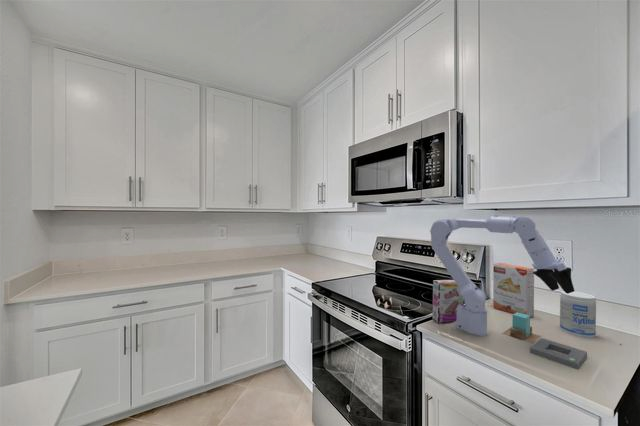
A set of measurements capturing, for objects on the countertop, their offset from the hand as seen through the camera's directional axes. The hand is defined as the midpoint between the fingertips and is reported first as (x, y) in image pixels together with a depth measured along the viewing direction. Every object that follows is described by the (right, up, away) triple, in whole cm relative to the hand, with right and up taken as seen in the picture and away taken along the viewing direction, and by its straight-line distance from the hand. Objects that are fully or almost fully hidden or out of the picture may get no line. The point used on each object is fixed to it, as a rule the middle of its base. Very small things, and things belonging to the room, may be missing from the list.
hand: (562, 290), depth 85 cm
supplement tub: (+18, -20, +13) cm, 30 cm away
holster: (-5, -20, +11) cm, 23 cm away
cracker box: (+9, -20, +34) cm, 41 cm away
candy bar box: (-24, -20, +25) cm, 40 cm away
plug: (-5, -19, +11) cm, 22 cm away
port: (-4, -20, -2) cm, 20 cm away
